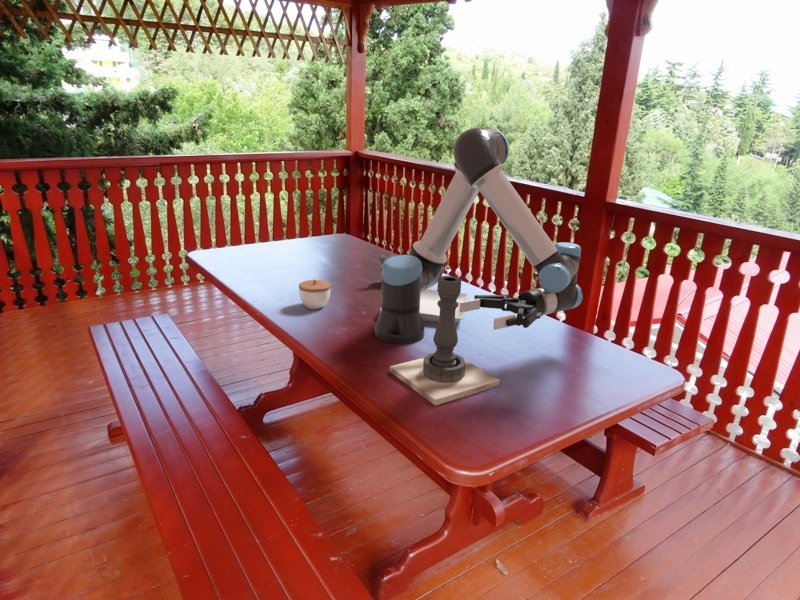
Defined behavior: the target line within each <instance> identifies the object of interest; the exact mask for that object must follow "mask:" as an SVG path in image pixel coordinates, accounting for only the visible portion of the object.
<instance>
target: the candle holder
mask: <svg viewBox="0 0 800 600" xmlns="http://www.w3.org/2000/svg"><path fill="white" fill-rule="evenodd" d="M436 287H437V289H436V290H437V292H438V295H439V297H440V299H441V300H439V301H438V303H437V304H438V306H439V308H440V315H439V322H437V325H436V329H435V331H434V335H433V343H434V345H435V346H436V347H435V348H436V350H435V352H433V353H434V355H433V357H434V358H433V359H432V364H433V365H434V366H438V367H442V368H452V367H456V360H455V358H456V355H455V354H456V353H455V352H454V351H455V348H456V346H457V345H458V342H459V336H458V329H457V325H456V323H455V310H456V308H457V307H458V305H459V303H458V302H457V301H456V300H457V298H458V297H459V294H460V293H462V292H461V289H462V278H461V277H458V276H453V275H442V276H441V277H439V278H438V282H437V286H436ZM454 353H455V354H454Z"/></svg>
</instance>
